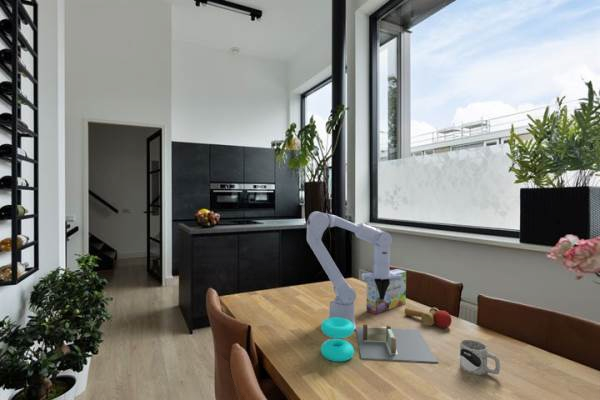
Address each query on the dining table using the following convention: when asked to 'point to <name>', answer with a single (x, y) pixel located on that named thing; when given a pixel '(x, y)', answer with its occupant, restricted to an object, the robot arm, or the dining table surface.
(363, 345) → the card
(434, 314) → the kendama
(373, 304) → the snack box
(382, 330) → the fence fixed
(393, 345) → the fence gate
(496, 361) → the mug
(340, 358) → the donuts
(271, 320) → the dining table surface
